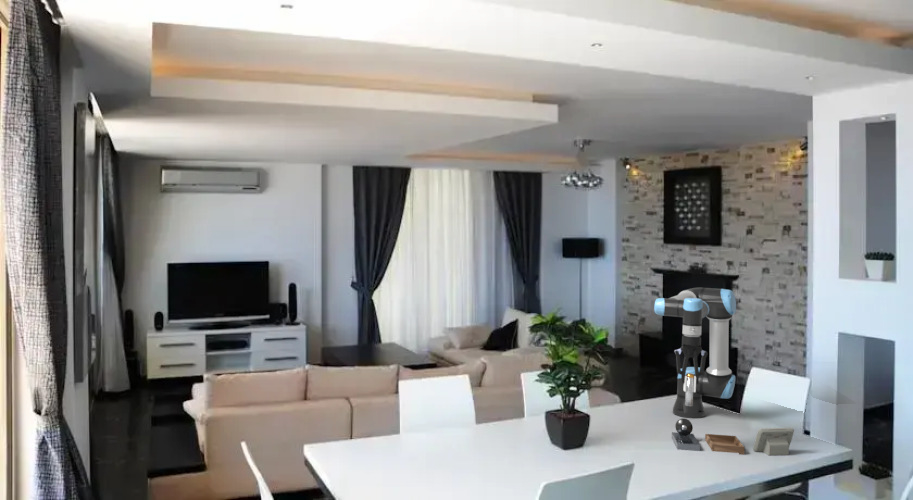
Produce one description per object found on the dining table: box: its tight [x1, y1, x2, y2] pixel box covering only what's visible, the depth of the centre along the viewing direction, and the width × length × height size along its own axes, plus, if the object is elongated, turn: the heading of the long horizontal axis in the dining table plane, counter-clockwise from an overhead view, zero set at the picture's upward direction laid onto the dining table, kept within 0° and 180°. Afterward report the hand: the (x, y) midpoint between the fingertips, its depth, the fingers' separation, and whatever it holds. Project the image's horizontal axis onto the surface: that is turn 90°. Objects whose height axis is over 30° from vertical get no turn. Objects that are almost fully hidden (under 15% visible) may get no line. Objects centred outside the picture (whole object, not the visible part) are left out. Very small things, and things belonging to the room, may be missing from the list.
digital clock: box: [752, 427, 795, 456], centre depth 297 cm, size 16×9×11 cm, turn 88°
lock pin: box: [685, 373, 694, 406], centre depth 298 cm, size 3×3×13 cm
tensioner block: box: [671, 418, 701, 452], centre depth 303 cm, size 16×9×10 cm, turn 171°
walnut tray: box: [704, 433, 745, 455], centre depth 302 cm, size 16×13×3 cm
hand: (689, 391), depth 298 cm, fingers closed on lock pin, 3 cm apart
